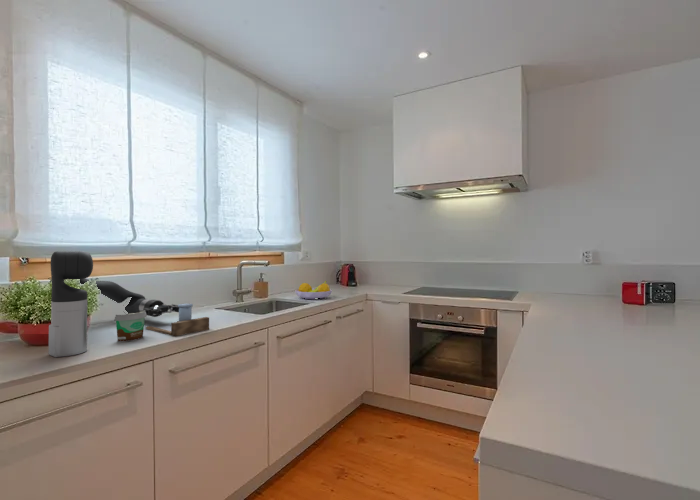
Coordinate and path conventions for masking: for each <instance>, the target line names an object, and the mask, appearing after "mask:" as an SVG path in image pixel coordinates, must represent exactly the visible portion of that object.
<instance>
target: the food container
mask: <svg viewBox="0 0 700 500" xmlns="http://www.w3.org/2000/svg"><path fill="white" fill-rule="evenodd" d="M147 316H148V315H146V312H145V310H140V312H137V313H128V314H126V313H125V314H115V316H114V322H115V324H116V326H115V327H116V338H117V342H131V341H136V340H141V339H142V338H143V337H144V329H145V328H144V327H145V321H146V320H145V318H147Z"/></svg>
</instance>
